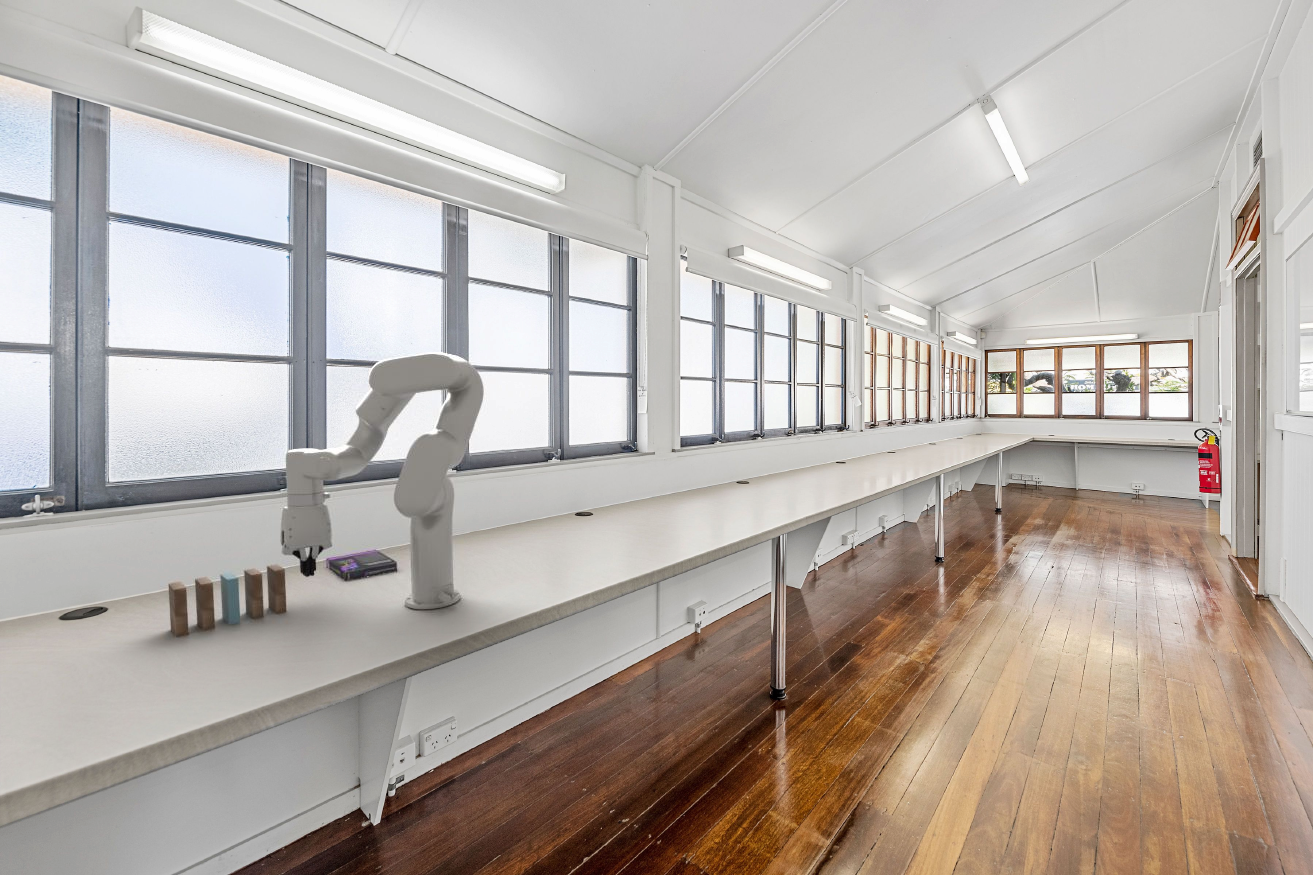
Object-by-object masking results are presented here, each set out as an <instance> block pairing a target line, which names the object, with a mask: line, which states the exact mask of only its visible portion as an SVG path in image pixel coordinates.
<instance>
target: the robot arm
mask: <svg viewBox="0 0 1313 875" xmlns="http://www.w3.org/2000/svg"><path fill="white" fill-rule="evenodd" d="M368 384H369V387H370V389H369V391H367V393H366V394H365V395H364V396H363V398H362V399H361V401H359V403H358V404H357V405H356V407H355V414H356V415H357V417H358V425H357V428H356V429H355V431H354V433H352V435H351V437H350V438H349V439H348V441H346V443H345V444H344V445H343V446H338V447H333V448H326V449H318V448H294V449H290V450H288V451H287V452H286V454H285V472H286V473H285V475H286V476H285V478H286V479H285V480H286V499H287V500H286V501H287V506H284V507H283V508H282V513H281V519H280V520H281V523H280V533H279V534H280V536H279V538H280V539H279V540H280V546H281V547H282V548H281V552H280V553H281V555H283V556H294V557H296V558H297V559H299V571H300V574H302V575H303V576H305V578H309V577H310V576H311V577H313V576H315V572H316V571H317V559H318V556H319V555H320V554H321V553H322V552H323V551H325V550H328V549H330V548H332V547H333V542H332V539H333V533H332V532H333V530H332V523H331V522H332V521H331V518H330V512H329V508H328V504H327V503H325V502H326V500H327V499H330V497H331V495H330V492H325V491H324V481H326V482H327V481H328V482H329V481H337V480H341V479H344V478H348V477H352V476H355V475H357V474H359V473H361V472H362V471H363V470H364V469H365V468H366V467H367V466H368V465H369V464H370V462H371V461H372V460H373V458H374V457H375V456H376V455H377V453H378V452H379V450H380V449H381V447H382V446H383V444H384V441H385V439H386V437H387V434H388V430H389V428H390V427H391V425H392V424H393V423H394V422H395V420H396V419H397V417H398V416H399V415H400V414H401V413H402V411H403V410H404V409H405V407H407V405H408V404H409V403H410V402H411V401H412V399H413V398H414V397H415V395H416V394H418V393H419V394H420V393H425V392H432V391H446V392H447V397H446V398H445V400H444V403H443V404H442V405H441V407H440V410H439V412H438V416H437V419H436V422H435V424H434V425H433V426H434V427H433V429H432V430H431V431H428V432H424V433H423V434H421V435H420V436H417V438H416V439H415V440H414V442H412V444H411V446H410V447H409V450H408V451H407V455H406V457H405V460H404V463H403V465H402V469H401V472H400V473H399V477H398V480H397V482H396V485H395V488H394V492H393V503H394V506H395V509H396V510H397V511H398V512H399V513H400V514H401V515H402V516H404V517H405V518H409V519H410V526H409V528H410V532H409V533H410V535H409V536H410V545H409V546H410V575H411V581H410V582H411V594H409V595H408V596H406V597H405V599H404V605H405V606H406V607H407V608H410V609H414V610H432V609H433V610H434V609H440V608H444V607H448V606H451V605H454V604H456V603H457V602H459V600H460V599H461V592H460V591H459V590H457V589H455V587H454V584H455V583H454V556H453V555H454V553H453V552H454V549H453V516H454V515H453V512H454V503H455V490H454V489H455V487H454V484H453V483H452V480H451V479H450V478H449V476H447V473H448V471H449V470H451V469H453V468H456V467H457V466H459V465H460V464H461V462H462V461H463V459H464V456H465V454H466V451H467V448H468V446H469V441H470V439H471V436H472V433H473V432H474V428H475V424H476V421H477V419H478V416H479V413H480V411H481V407H482V404H483V400H484V394H485V393H484V392H485V391H484V389H485V388H484V382H483V379H482V377H481V375H480V373H479V372H478V371H477V369H476V367H474V365H472V364H471V363H470V362H469V361H468V360H466V359H465V358H462V357H460V356H458V355H453V354H449V353H446V352H439V351H438V352H437V351H436V352H425V353H420V354H413V355H406V356H400V357H393V358H392V357H391V358H386V359H381V360H379V361H378V362H376V363H375V364H374V365H373V366H372V368H370V371H369V373H368ZM306 548H307V549H308V548H309V549H308V556H307V551H306Z"/></svg>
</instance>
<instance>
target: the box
mask: <svg viewBox="0 0 1313 875" xmlns="http://www.w3.org/2000/svg"><path fill="white" fill-rule="evenodd" d="M325 562H326V568H328V569H329V570H330V571H331V570H332V571H331V572H333V573H334V574H335V573H336V574H335V575H336V576H338V577H339V576H340V577H339V578H340V579H342V580H343V579H344V580H343V581H345V580H348V581H352V580H351V579H354V580H358V579H357V578H359V579H362V578H361V577H364V578H368V577H367V576H369V577H374V576H373V575H375V576H378V575H379V574H380V575H384V574H383V573H385V574H390V573H395V572H394V571H396V572H398V562H397V561H395V559H392V558H391V557H389V556H387V555H386V554H384V553H382V552H380V551H379V550H377V549H373V550H367V551H366V550H365V551H361V552H356V553H350V554H345V555H341V556H334V557H333V556H332V557H327V558H326V559H325ZM389 572H390V573H389ZM380 575H379V576H380Z"/></svg>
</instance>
